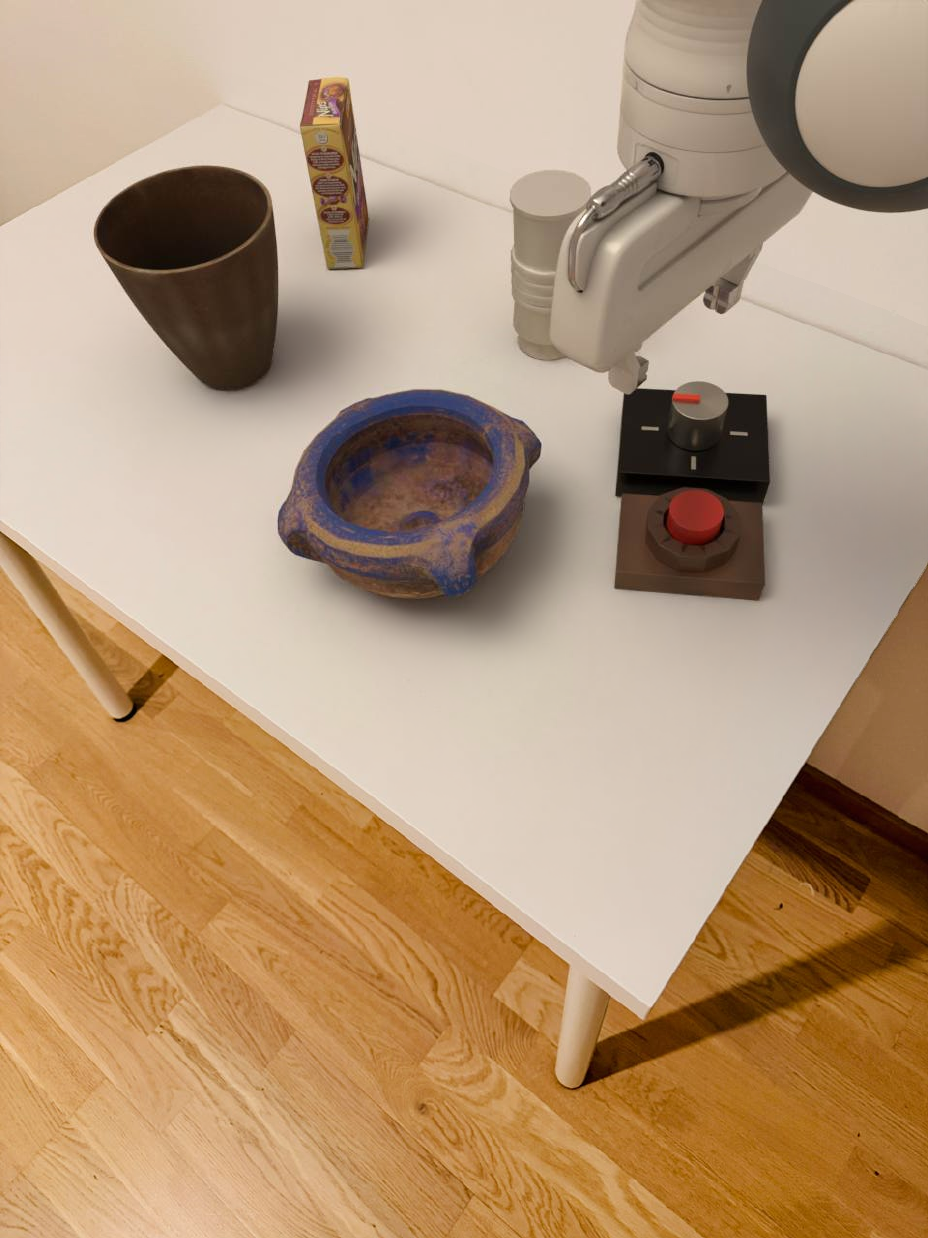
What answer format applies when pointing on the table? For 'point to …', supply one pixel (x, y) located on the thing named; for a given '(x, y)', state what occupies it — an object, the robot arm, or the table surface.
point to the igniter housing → (690, 550)
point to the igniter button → (695, 517)
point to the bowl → (411, 492)
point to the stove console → (665, 466)
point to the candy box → (335, 171)
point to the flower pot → (199, 267)
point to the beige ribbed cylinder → (540, 250)
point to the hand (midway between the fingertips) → (674, 343)
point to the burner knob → (697, 415)
